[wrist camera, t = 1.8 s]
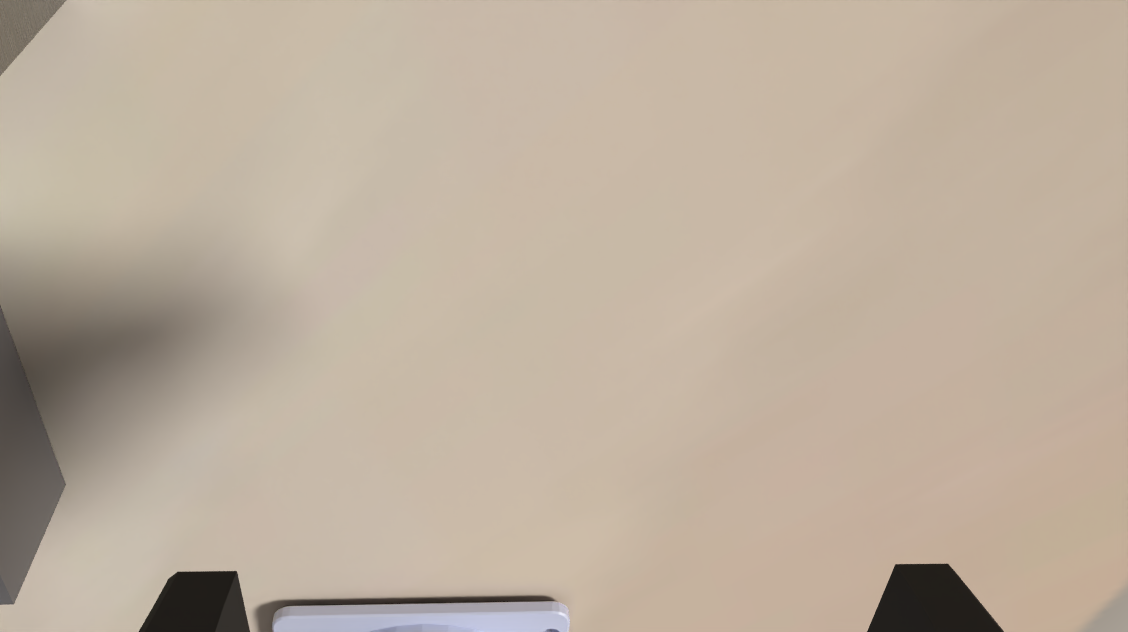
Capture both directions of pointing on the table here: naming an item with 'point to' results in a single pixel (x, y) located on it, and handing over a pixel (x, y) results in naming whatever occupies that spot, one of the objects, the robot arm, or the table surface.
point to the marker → (22, 472)
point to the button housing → (22, 25)
